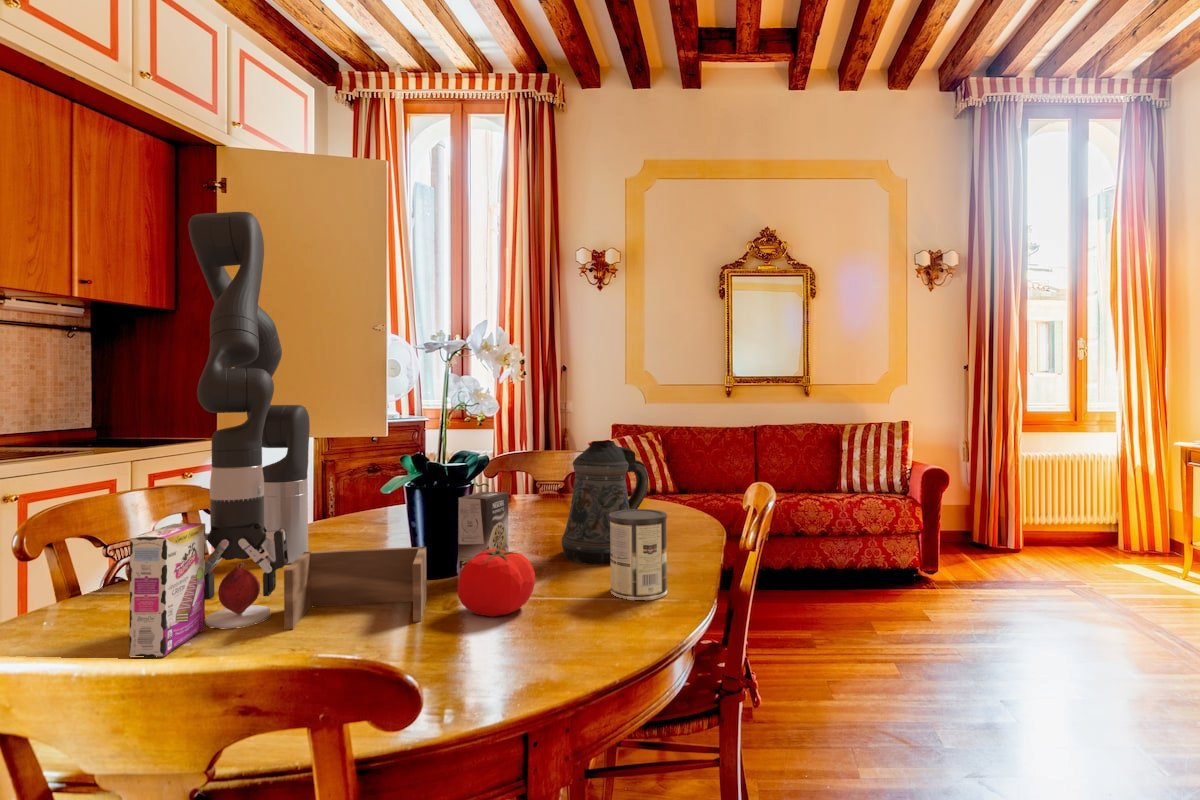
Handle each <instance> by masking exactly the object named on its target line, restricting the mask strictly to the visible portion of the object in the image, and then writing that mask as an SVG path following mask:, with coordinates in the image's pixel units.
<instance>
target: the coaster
mask: <svg viewBox="0 0 1200 800" xmlns="http://www.w3.org/2000/svg"><path fill="white" fill-rule="evenodd" d="M205 617H206V618H205V626H206V625H207V626H209V627H214V628H235V629H238V628H237V627H242V628H244V627H243V626H247V627H249V626H248V625H251V626H253V625H252V624H255V623H258V624H260V623H259V622H261V621H263V620H265V619H267V618H268V619H270V617H271V608H270V607H268V606H265V605H259V604H258V605H257V604H256V605H255V604H251V605H250V606H249V607H248V608H247V609H246V610H245V611H244V612H243V613H241V614H236V613H234V612H232V611H230V610H229V609H227V608H224V609H219V610H217V611H214V612H212V613H210V614H208V615H207V616H205ZM268 619H267V620H268ZM265 621H266V620H265ZM263 622H264V621H263ZM261 623H262V622H261ZM255 625H256V624H255ZM207 626H206V627H207ZM209 627H208V628H209Z"/></svg>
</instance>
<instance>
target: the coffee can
mask: <svg viewBox="0 0 1200 800" xmlns="http://www.w3.org/2000/svg"><path fill="white" fill-rule="evenodd" d="M609 518H610V551H611V564H610V591H609V593H610V592H611V593H610V594H611V595H612V594H613V595H614V596H613V595H612V596H613V597H615V596H616V598H617V597H619V598H618V599H621V598H623V599H622V600H626V599H627V600H628V601H635V600H645V601H653V600H657V599H661V598H663V597H665V596H667V594H668V584H667V583H668V581H667V580H668V578H667V575H668V574H667V573H668V571H667V568H668V567H667V566H668V564H667V562H668V561H667V519H668V514H667V513H666V512H664V511H661V510H656V509H648V508H638V509H627V510H619V511H614V512H612V513H610V514H609Z"/></svg>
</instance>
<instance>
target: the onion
mask: <svg viewBox="0 0 1200 800" xmlns="http://www.w3.org/2000/svg"><path fill="white" fill-rule="evenodd" d="M245 567H246V564H245V563H244V562H238V563H237V564H236V565H235V567H234V568H233V569H232V570H231V571H230V572H228V573H227V574H226V575H225V576H224V578H222V580H221V582H220V583H219V587H218V591H217V594H218V601H219V602H220V604H221V605H222V607H224V609H229V610H230V611H232V612H234V613H236V614H241V613H243V612H244V611H245V610H246V609H247V608H248V607H249V606H250V605H253V604H254V603H255V601H256V600H257V599H258V597H259V595H260V593H261V585H260V581H259V579H258V577H257V576H256V575H255V574H254V573H253V572H252V571H250V570H249V569H247V568H245Z"/></svg>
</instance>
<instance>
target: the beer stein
mask: <svg viewBox="0 0 1200 800" xmlns="http://www.w3.org/2000/svg"><path fill="white" fill-rule="evenodd" d="M572 468H573V471H574V473H575V474H574V483H573V490H572V494H571V502H570V509H569V514H568V519H567V522H566V526H565V530H564V533H563V534H562V537H561V546H562V551H563V557H564V558H565V560H567V559H568V560H567V561H569V560H570V561H569V562H572V561H573V563H575V562H576V563H575V564H582V563H586V564H585V565H594V564H597V565H611V564H610V563H611V551H610V518H609V514H610V513H612V512H614V511H619V510H627V509H639V508H640V506H641V504H642V502H643V501H644V499H645V497H646V494H647V492H648V487H649V483H650V481H649V479H650V478H649V474H648V471H647V467H646V464H645V463H643V462H641V461H640V460H638V459H637V460H636V453H635V451H633V450H632V449H630V448H628V447H625V446H618V445H616V443H615V441H614V440H594V441H593V440H592V441H591V443H590V445H589V446H588V447H587V448H586V449H585V450H584V451H583V452H581V453H580V454H579V455H578V456H577V457H576V458H575V459H574V460H573V462H572ZM627 473H634V474H635V479H636V483H635V487H634V490H633V491H632V493H631V495H630V496H629V494H628V488H627V486H628V485H627V482H626V476H627Z"/></svg>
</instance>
